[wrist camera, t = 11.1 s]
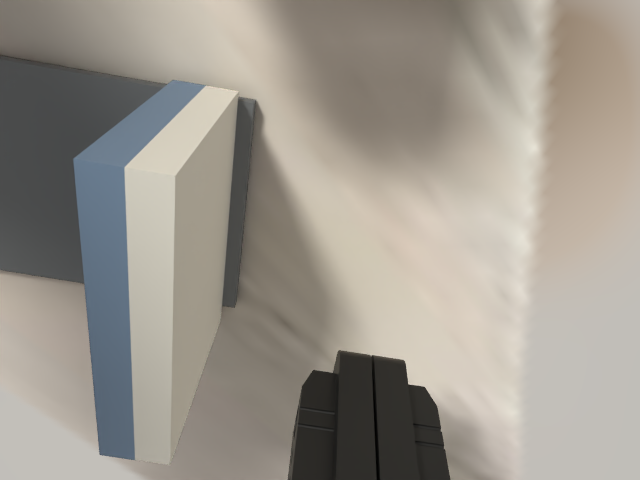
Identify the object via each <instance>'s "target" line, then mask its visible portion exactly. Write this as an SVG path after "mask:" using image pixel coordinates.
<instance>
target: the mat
mask: <svg viewBox="0 0 640 480" xmlns="http://www.w3.org/2000/svg"><path fill="white" fill-rule="evenodd" d="M166 85H167V84H161V83H156V82H150V81H144V80H138V79H133V78H127V77H121V76H115V75H110V74H104V73H98V72H92V71H87V70H81V69H75V68H69V67H63V66H58V65H52V64H46V63H40V62H35V61H29V60H23V59H17V58H12V57H6V56H0V270H4V271H10V272H16V273H22V274H29V275H35V276H41V277H47V278H54V279H60V280H66V281H72V282H78V283H84V274H83V263H82V252H81V240H80V229H79V218H78V207H77V196H76V185H75V173H74V162H73V159H74V158H75V157H76V156H77V155H79V154H80V153H81V152H82V151H84V150H85V149H86V148H88V147H89V146H90V145H91V144H93V143H94V142H95V141H96V140H98V139H99V138H100V137H101V136H103V135H104V134H105V133H107V132H108V131H109V130H110V129H112V128H113V127H114V126H115V125H117V124H118V123H119V122H120V121H122V120H123V119H124V118H126V117H127V116H128V115H129V114H131V113H132V112H133V111H134V110H136V109H137V108H138V107H139V106H141V105H142V104H143V103H145V102H146V101H147V100H148V99H150V98H151V97H152V96H153V95H155V94H156V93H157V92H158V91H160V90H161V89H162V88H164V87H165V86H166ZM255 104H256V100H253V99H248V98H242V97H238V106H237V119H236V132H235V145H234V157H233V170H232V183H231V196H230V209H229V222H228V235H227V247H226V260H225V273H224V286H223V299H222V306H227V307H234V308H235V305H236V302H237V292H238V281H239V271H240V260H241V250H242V240H243V229H244V219H245V208H246V198H247V187H248V177H249V167H250V156H251V146H252V135H253V125H254V115H255Z"/></svg>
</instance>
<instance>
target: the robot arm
mask: <svg viewBox="0 0 640 480" xmlns="http://www.w3.org/2000/svg"><path fill="white" fill-rule="evenodd" d="M288 480H450V475H449V470H448V464H447V459H446V453H445V449H444V442H443V436H442V432H441V425H440V420H439V414H438V408H437V406H436V404H435V402H434V401H433V399H432V398H431V396H430V394H429V393H428V391H427V390H426V388H425V387H421V386H415V385H408V379H407V371H406V364H405V361H404V360H400V359H393V358H387V357H380V356H374V355H372V356H370V355H367V354H360V353H354V352H347V351H341V350H339V351H338V354H337V357H336V362H335V366H334V371H333V373H329V372H322V371H316V370H313V371H312V373H311V374H310V376H309V377H308V379H307V380H306V381H305V383H304V384H303V386H302V390H301V395H300V400H299V405H298V410H297V416H296V421H295V426H294V431H293V440H292V448H291V456H290V465H289V473H288Z"/></svg>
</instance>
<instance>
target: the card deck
mask: <svg viewBox="0 0 640 480" xmlns="http://www.w3.org/2000/svg"><path fill="white" fill-rule="evenodd" d="M238 93H239V91H234V90H229V89H223V88H217V87H211V86H206V85H200V84H194V83H188V82H183V81H177V80H172V81H171V82H170V83H169V84H167V85H166V86H165V87H164V88H162V89H161V90H160V91H158V92H157V93H156V94H155V95H153V96H152V97H151V98H150V99H148V100H147V101H146V102H145V103H143V104H142V105H141V106H139V107H138V108H137V109H136V110H134V111H133V112H132V113H131V114H129V115H128V116H127V117H126V118H124V119H123V120H122V121H120V122H119V123H118V124H117V125H115V126H114V127H113V128H112V129H110V130H109V131H108V132H107V133H105V134H104V135H103V136H101V137H100V138H99V139H98V140H96V141H95V142H94V143H93V144H91V145H90V146H89V147H88V148H86V149H85V150H84V151H82V152H81V153H80V154H79V155H77V156H76V157H75V158H74V159H73V162H74V173H75V185H76V196H77V207H78V218H79V229H80V240H81V252H82V263H83V274H84V285H85V296H86V307H87V318H88V330H89V341H90V352H91V363H92V374H93V385H94V397H95V408H96V419H97V430H98V441H99V452H100V455H104V456H111V457H117V458H124V459H131V460H137V461H144V462H151V463H157V464H164V465H171V462H172V459H173V456H174V453H175V450H176V447H177V445H178V442H179V439H180V436H181V433H182V430H183V427H184V424H185V422H186V419H187V416H188V413H189V410H190V407H191V404H192V401H193V399H194V396H195V393H196V390H197V387H198V384H199V381H200V378H201V376H202V373H203V370H204V367H205V364H206V361H207V358H208V355H209V353H210V350H211V347H212V344H213V341H214V338H215V335H216V332H217V330H218V327H219V324H220V321H221V312H222V299H223V286H224V273H225V260H226V247H227V235H228V222H229V209H230V196H231V183H232V170H233V157H234V145H235V132H236V119H237V106H238Z"/></svg>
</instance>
